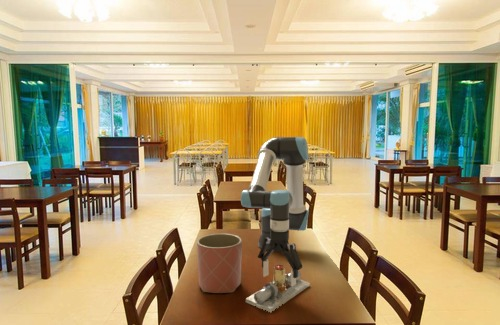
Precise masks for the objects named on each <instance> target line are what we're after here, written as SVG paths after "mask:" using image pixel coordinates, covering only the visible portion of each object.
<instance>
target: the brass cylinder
mask: <svg viewBox="0 0 500 325" xmlns="http://www.w3.org/2000/svg"><path fill="white" fill-rule="evenodd" d="M272 274H273V276H272V277H273V278H272V282H273V283H274V284H275V285H276V286H277V288H278V292H280V293H281V292H284V291H285V274H286V268H285V267H284V265H282V264H276V265H275V266H273V273H272Z"/></svg>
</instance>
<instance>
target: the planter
mask: <svg viewBox="0 0 500 325" xmlns="http://www.w3.org/2000/svg"><path fill="white" fill-rule="evenodd" d="M242 244H243V240H242V238H241V237H240V236H239V235H236V234H232V233H211V234H207V235H203V236H201V237H199V238H198V239H197V241H196V250H197V251H196V252H197V254H196V255H197V267H198V268H197V269H198V285H199V288H201V291H202V292H203V293H213V294H226V293H233V292H235V291H236V290H237V289H238V287H240V285H241V281H242V250H243V245H242Z"/></svg>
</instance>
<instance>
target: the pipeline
mask: <svg viewBox="0 0 500 325" xmlns="http://www.w3.org/2000/svg"><path fill="white" fill-rule="evenodd" d="M301 277H302V274H301V271H300V270H298V277H297V278H296V284H295V285H294V286H291V272H290V273H285V291H284V292H281V293H280V292H278V288H277V286H276V285H275V284H274V283H273V281H270V282H267V283H265V285H264V286H262V289H260V290H258V291H256V292H255V293H252V294H251V295H250V296H248V297H246V298H245V303H247V304H249V305H252V306H254V307H255V306H256V307H255V308H258V309H260V310H262V309H263V310H262V311H265V310H266V311H265V312H267V311H268V313H269V312H270V314H271V313H273V312H274V311H275V309H276V308H277V309H279V308H280V307H281V306H282V304H283V305H284V304H285V303H287V302H288V301H290V300H292V299H293V298H295V296H297V295H298V294H300V293H301V292H302V291H303V292H304V291H305V290H306V289H307V288H309V287H310V282H309V281H306V280H303V279H301ZM279 306H280V307H279ZM277 309H276V310H277ZM272 311H273V312H272Z"/></svg>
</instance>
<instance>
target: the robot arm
mask: <svg viewBox="0 0 500 325" xmlns="http://www.w3.org/2000/svg"><path fill="white" fill-rule="evenodd" d="M256 157H257V161H256V164H255V168H254V171H253V175H252V177H251V180H250V183H249V187H248V189H244V190H242V191H241V194H240V203H241V206H242V207H243V208H244V207H245V208H251V209H261V215H260V217H261V228H260V229H261V233H260V237H259V238H258V242H257V244H258V248H259V249H260V251H259V253H258V254H257V258H258V259H260V261H261V267H262V269H263V270H262V274H263V275H262V276H263V278H265V277H267V276H269V272H270V271H269V259H268V258H269V257H270V256H271V255H272V254H273V252H275V253H279V254H282V256H284V258H285V259H286V260H287V262H288V263H289V266H290V267H291V270H290V273H291V286H294V285H295V284H296V278H297V277H298V271H300V270H301V269H303V263H302V262H301V259H300V257H299V254H298V251H297V246H296V243H289V239H290V231H297V232H299V231H301V232H303V231H306V230H307V227H308V219H309V212H310V210H309V209H307V207H306V205H305V204H304V175H303V174H304V165H305V164H306V161H308V160H309V147H308V140H307V139H306V138H305V137H302V136H299V137H298V136H276V137H272V138H270V139H268V140H266V141H265V142H264V143H263V144H262V145H261V146H260V148H259V150H258V153H257V156H256ZM276 160H282V161H283V164H284V166H286V189H283V190H282V189H276V190H267V186H268V183H269V178H270V175H271V171H272V167H273V164H274V163H275V162H276Z"/></svg>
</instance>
